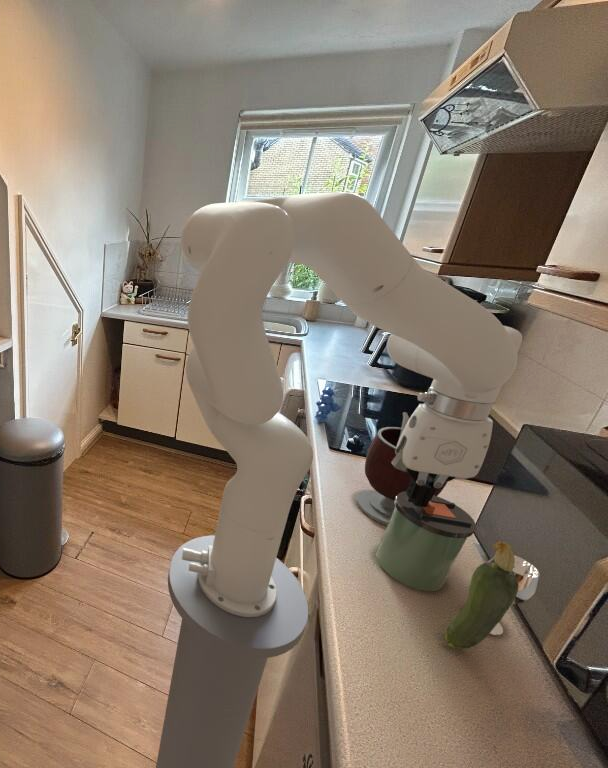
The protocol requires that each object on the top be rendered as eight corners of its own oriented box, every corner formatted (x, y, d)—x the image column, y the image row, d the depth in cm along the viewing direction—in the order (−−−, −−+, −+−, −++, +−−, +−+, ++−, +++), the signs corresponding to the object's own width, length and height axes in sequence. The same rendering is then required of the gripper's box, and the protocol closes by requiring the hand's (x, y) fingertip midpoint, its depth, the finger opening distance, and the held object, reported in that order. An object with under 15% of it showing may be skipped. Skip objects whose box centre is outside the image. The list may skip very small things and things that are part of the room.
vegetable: (476, 651, 59) (540, 547, 52) (474, 672, 56) (541, 565, 49) (439, 630, 62) (493, 528, 54) (435, 649, 59) (492, 545, 52)
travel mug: (386, 584, 70) (413, 523, 65) (364, 540, 79) (386, 483, 74) (459, 600, 67) (493, 537, 62) (427, 552, 77) (454, 494, 72)
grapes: (334, 433, 120) (345, 396, 115) (309, 427, 123) (319, 391, 118) (336, 418, 129) (346, 384, 125) (312, 413, 132) (322, 379, 128)
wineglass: (497, 645, 60) (533, 586, 56) (452, 612, 65) (483, 556, 61) (516, 631, 63) (553, 573, 58) (472, 600, 67) (503, 545, 63)
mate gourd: (439, 540, 80) (480, 454, 73) (360, 522, 84) (390, 439, 77) (411, 494, 94) (443, 417, 86) (344, 480, 98) (368, 406, 90)
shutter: (427, 515, 67) (431, 507, 67) (417, 501, 70) (420, 494, 70) (455, 519, 66) (459, 512, 66) (443, 506, 70) (447, 498, 69)
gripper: (412, 407, 60) (375, 507, 67) (533, 422, 57) (481, 525, 64) (391, 388, 67) (359, 480, 74) (498, 400, 63) (454, 496, 71)
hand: (416, 501), depth 69 cm, fingers closed
